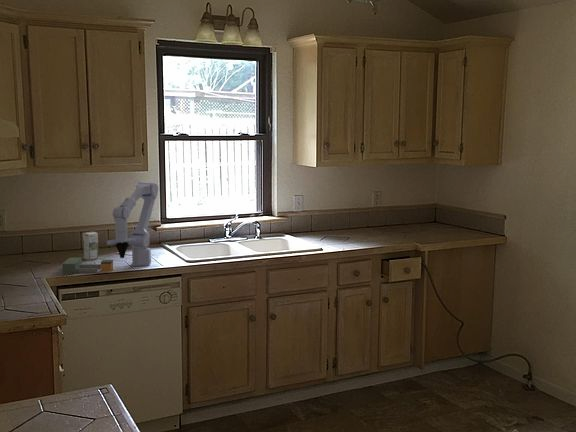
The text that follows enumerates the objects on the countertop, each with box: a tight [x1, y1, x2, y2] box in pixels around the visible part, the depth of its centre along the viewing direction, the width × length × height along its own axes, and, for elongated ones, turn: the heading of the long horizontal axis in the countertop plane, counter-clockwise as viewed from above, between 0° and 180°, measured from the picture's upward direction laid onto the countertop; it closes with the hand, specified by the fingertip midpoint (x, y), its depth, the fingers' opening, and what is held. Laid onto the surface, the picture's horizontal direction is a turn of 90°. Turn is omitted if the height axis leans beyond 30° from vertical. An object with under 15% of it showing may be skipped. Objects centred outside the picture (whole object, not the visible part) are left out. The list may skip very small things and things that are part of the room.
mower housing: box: [61, 257, 101, 275], centre depth 305 cm, size 16×14×5 cm
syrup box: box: [82, 231, 99, 261], centre depth 331 cm, size 6×6×14 cm
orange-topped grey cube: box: [100, 259, 114, 272], centre depth 306 cm, size 5×5×5 cm
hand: (122, 257), depth 306 cm, fingers closed
